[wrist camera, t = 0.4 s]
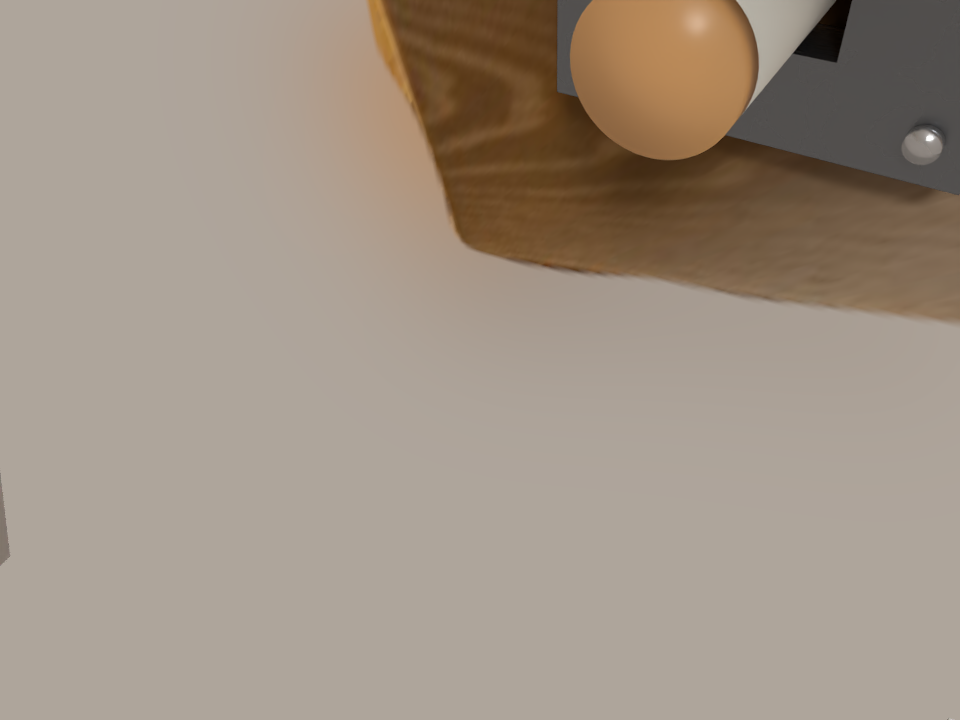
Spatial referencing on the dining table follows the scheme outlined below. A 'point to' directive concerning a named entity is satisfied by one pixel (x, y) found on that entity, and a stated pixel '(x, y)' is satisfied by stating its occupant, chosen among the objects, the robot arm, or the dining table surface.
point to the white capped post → (681, 66)
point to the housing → (855, 91)
